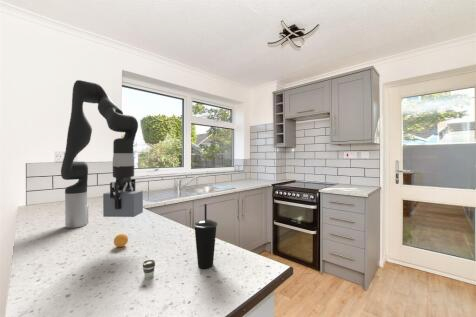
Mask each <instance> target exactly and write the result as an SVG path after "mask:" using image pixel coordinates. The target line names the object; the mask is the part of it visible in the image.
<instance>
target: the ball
mask: <svg viewBox="0 0 476 317" xmlns="http://www.w3.org/2000/svg"><path fill="white" fill-rule="evenodd" d="M128 242H129V238H128V235H127V234H125V233H119V234H117V235H115V237H114V238H113V244H114V246H115V247H117V248H121V247H124V246H126V245H127V243H128Z"/></svg>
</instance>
